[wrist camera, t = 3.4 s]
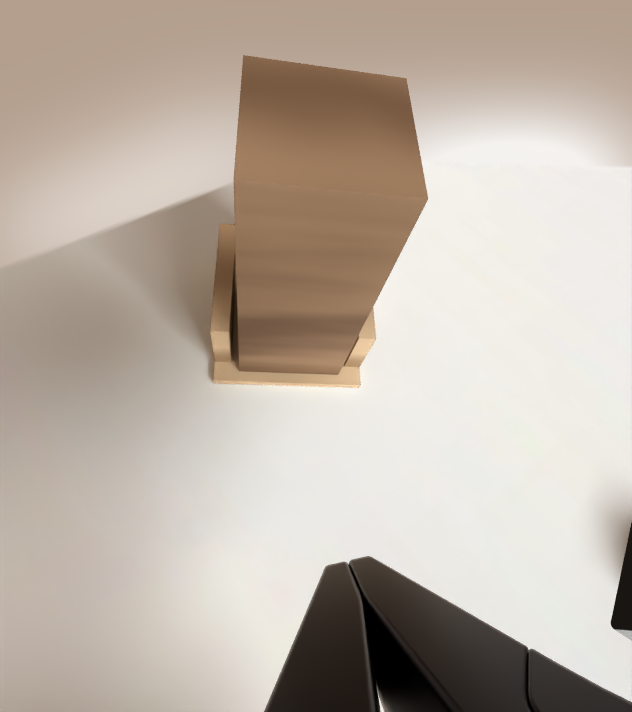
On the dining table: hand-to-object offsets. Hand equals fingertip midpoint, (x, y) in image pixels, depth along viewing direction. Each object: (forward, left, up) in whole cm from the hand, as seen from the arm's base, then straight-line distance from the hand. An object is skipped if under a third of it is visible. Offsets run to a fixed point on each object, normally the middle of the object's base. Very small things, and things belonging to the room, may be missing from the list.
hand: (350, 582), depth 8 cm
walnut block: (+10, +4, -12) cm, 16 cm away
